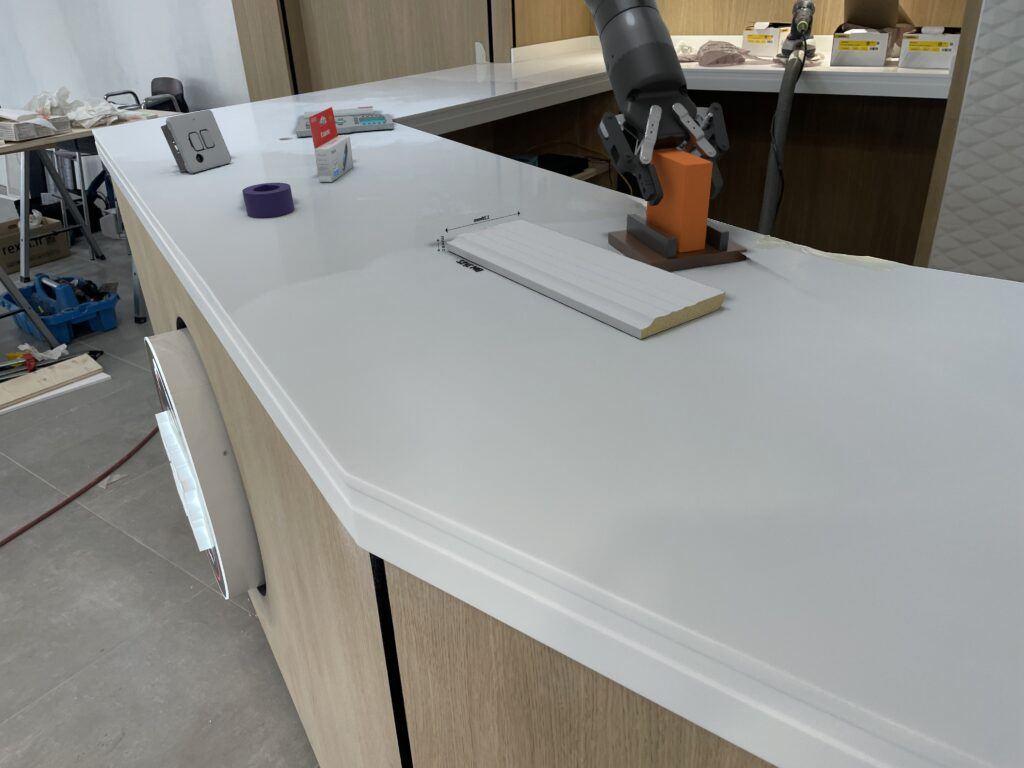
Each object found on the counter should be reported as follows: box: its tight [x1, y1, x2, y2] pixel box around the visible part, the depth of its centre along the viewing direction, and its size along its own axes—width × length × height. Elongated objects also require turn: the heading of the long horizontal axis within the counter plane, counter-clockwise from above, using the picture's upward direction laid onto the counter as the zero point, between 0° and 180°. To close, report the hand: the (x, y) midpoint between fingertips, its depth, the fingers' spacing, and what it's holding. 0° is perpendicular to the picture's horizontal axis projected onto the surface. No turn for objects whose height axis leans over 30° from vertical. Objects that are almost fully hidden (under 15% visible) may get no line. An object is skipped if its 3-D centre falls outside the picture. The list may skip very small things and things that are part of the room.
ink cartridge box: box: [308, 106, 354, 183], centre depth 117 cm, size 2×11×10 cm, turn 173°
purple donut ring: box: [241, 182, 295, 219], centre depth 102 cm, size 12×6×3 cm, turn 26°
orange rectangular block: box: [645, 148, 713, 253], centre depth 78 cm, size 3×8×9 cm, turn 17°
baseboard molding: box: [436, 211, 726, 340], centre depth 74 cm, size 31×3×12 cm
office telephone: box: [295, 105, 394, 138], centre depth 160 cm, size 23×3×20 cm
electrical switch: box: [160, 109, 233, 174], centre depth 126 cm, size 9×5×9 cm, turn 153°
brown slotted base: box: [607, 212, 748, 272], centre depth 80 cm, size 11×11×3 cm
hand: (686, 197), depth 76 cm, fingers open, 6 cm apart
